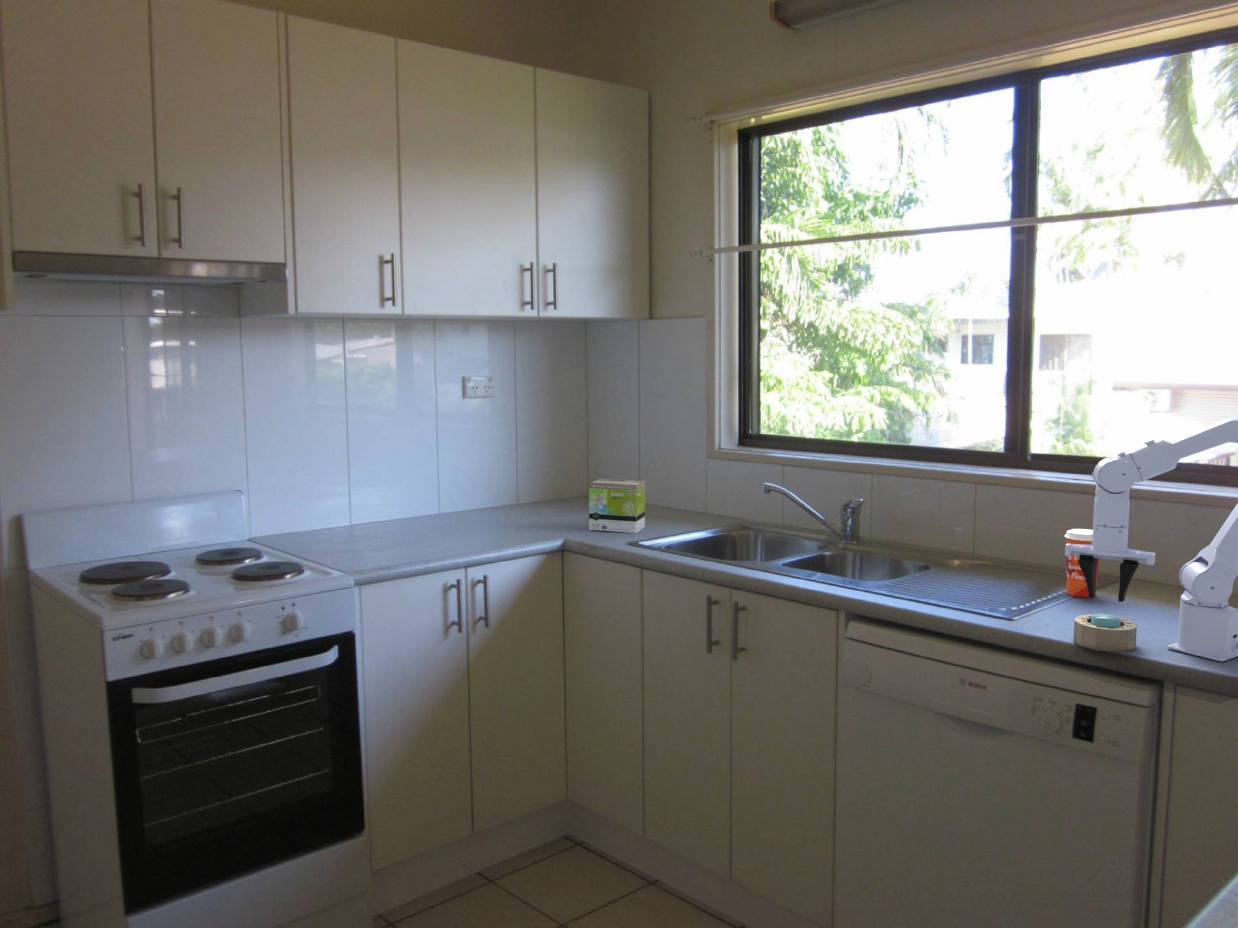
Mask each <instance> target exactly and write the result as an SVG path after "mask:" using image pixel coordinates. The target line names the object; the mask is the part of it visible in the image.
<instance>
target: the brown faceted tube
mask: <svg viewBox="0 0 1238 928" xmlns="http://www.w3.org/2000/svg"><path fill="white" fill-rule="evenodd" d="M1091 615H1092V614H1082V615H1079V616H1075V617H1074V624H1073V625H1074V628H1073V643H1075V644H1076V643H1077V644H1076V645H1079V646H1080V647H1083V648H1086V649H1091V650H1094V651H1100V652H1109V653H1127V651H1128V652H1131V651H1134V650H1136V646H1137V623H1136V622H1133V621H1132V620H1129V619H1127V618H1122V617H1120V618H1121V622H1120V627H1105V626H1098V625H1094V624H1091ZM1130 650H1131V651H1130Z"/></svg>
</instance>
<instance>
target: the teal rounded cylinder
mask: <svg viewBox="0 0 1238 928" xmlns="http://www.w3.org/2000/svg"><path fill="white" fill-rule="evenodd" d="M1090 615H1091V624H1094V625H1098V626H1105V627H1120V622H1121V618H1122V617H1120V616H1117V615H1114V614H1113V615H1112V614H1109V613H1093V614H1090Z"/></svg>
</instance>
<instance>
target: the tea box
mask: <svg viewBox="0 0 1238 928" xmlns="http://www.w3.org/2000/svg"><path fill="white" fill-rule="evenodd" d="M645 524H646V481H645V480H635V479H634V480H633V479H632V480H631V479H617V478H616V479H615V478H614V479H613V478H597V479H596V480H593V481H592V482H588V529H589V531H602V532H603V531H606V532H612V533H613V532H616V533H628V534H637V533H639V532H640V531H642V530H643V529H644V528H645V526H646V525H645Z"/></svg>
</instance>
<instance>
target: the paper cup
mask: <svg viewBox="0 0 1238 928" xmlns="http://www.w3.org/2000/svg"><path fill="white" fill-rule="evenodd" d="M1065 533H1066V534H1064V538H1065V545H1066V544H1080V545H1092V537H1093V529H1087V528H1071V529H1069V530H1066V532H1065ZM1065 560H1066V561H1065V562H1066V565H1065V566H1066V567H1065V568H1066V569H1065V570H1066V571H1065V572H1066V575H1065V576H1066V594H1067V593H1068V594H1070V595H1069V596H1072V597H1075V598H1076V597H1077V598H1084V599H1085V598H1089V593H1088V587H1087V583H1086V580H1085V577H1084V575H1083V572H1082V570H1081V568H1080V566H1079V564H1078V560H1079V556H1073V555H1071V556H1066V555H1065ZM1100 560H1101V559H1100V558H1098V562H1097V569H1096V586H1097V585H1098V576H1099V575H1098V574H1099V568H1100ZM1068 594H1067V595H1068Z"/></svg>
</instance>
